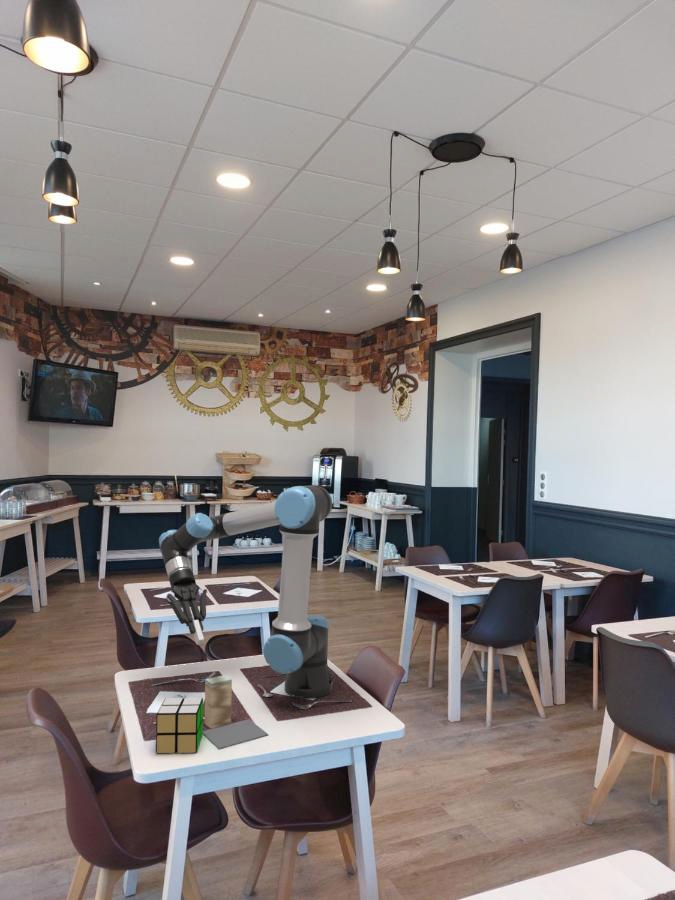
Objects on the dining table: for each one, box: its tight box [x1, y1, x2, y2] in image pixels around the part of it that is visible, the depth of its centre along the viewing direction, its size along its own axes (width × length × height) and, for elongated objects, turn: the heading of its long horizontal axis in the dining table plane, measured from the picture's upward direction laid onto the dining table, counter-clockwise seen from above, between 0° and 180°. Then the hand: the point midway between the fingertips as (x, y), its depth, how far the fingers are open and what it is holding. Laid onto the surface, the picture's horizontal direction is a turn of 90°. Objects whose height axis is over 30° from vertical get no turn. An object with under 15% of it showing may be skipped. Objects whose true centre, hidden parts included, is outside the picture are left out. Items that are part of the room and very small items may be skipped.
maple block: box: [204, 674, 233, 729], centre depth 166 cm, size 6×4×12 cm, turn 125°
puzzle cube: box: [155, 697, 204, 755], centre depth 154 cm, size 10×10×10 cm
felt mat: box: [202, 718, 269, 750], centre depth 160 cm, size 14×11×1 cm
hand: (200, 642), depth 176 cm, fingers closed
